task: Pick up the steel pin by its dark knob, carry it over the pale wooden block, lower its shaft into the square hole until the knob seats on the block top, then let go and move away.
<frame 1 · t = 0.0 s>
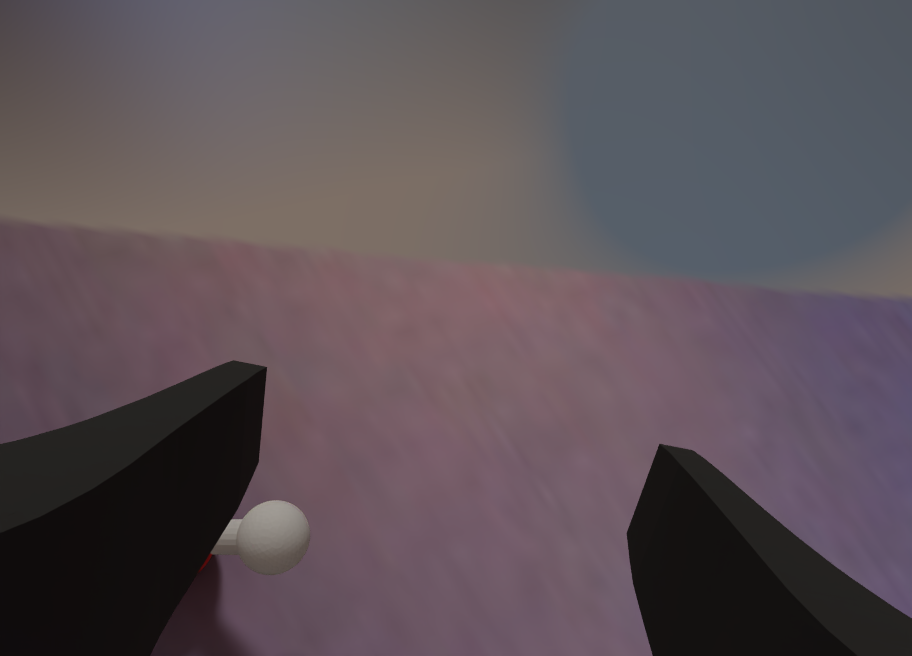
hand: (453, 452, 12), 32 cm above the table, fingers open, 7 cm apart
molecular model: (180, 543, 41), on the table
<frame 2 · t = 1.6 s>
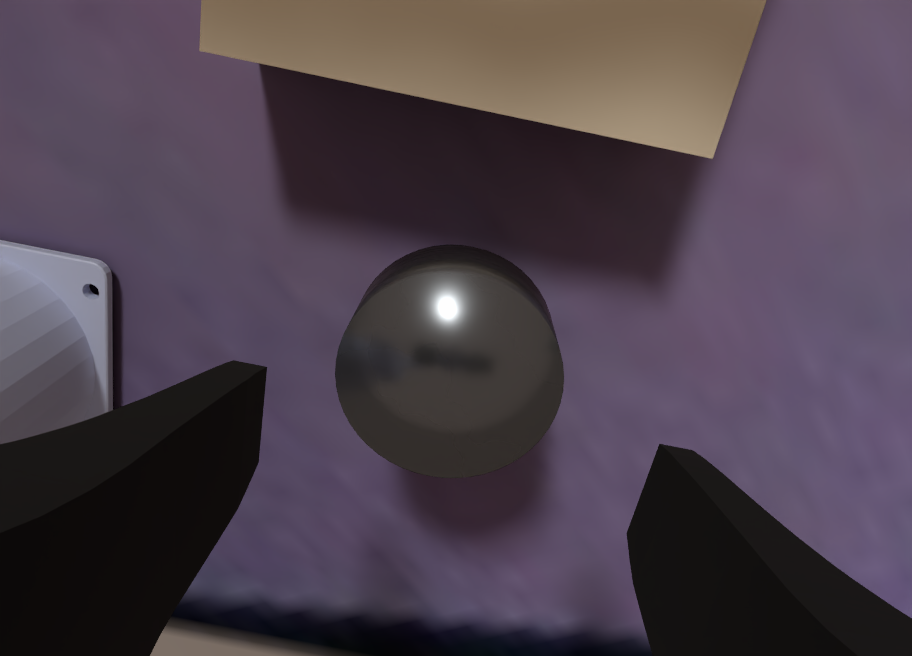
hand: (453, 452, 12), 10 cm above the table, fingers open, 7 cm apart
steel pin: (458, 297, 21), on the table
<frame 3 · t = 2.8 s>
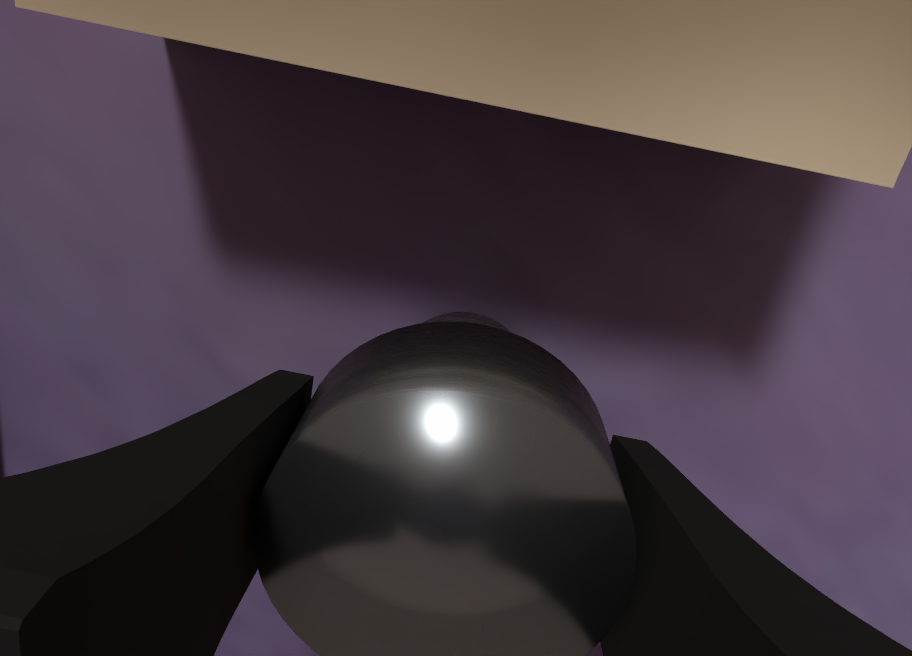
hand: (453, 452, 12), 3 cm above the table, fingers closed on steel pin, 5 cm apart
steel pin: (461, 373, 15), on the table, touching gripper
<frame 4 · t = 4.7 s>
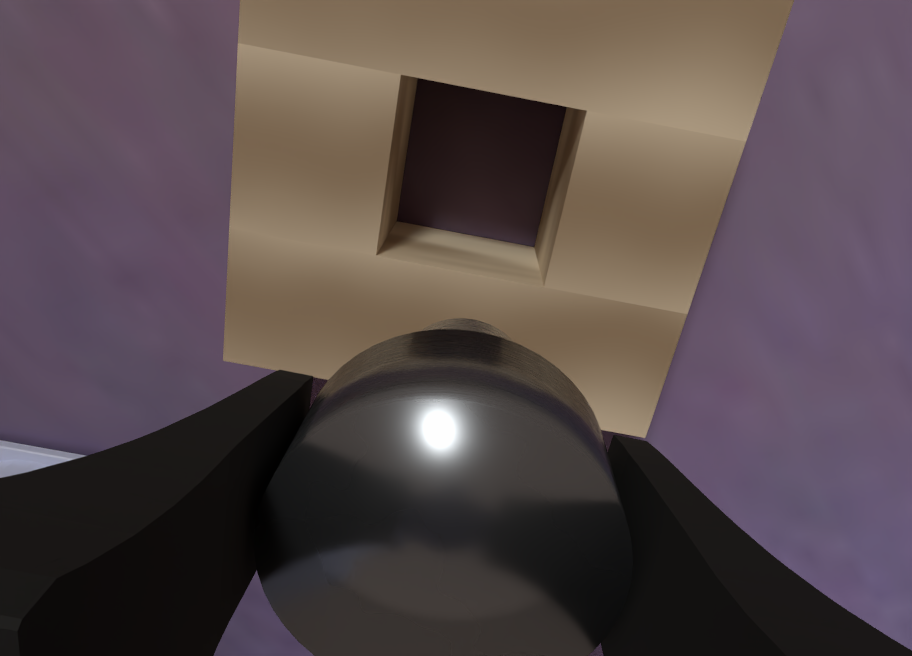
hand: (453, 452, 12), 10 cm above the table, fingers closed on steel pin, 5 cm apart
wooden block: (478, 163, 20), on the table
steel pin: (461, 379, 15), point 7 cm above the table, touching gripper
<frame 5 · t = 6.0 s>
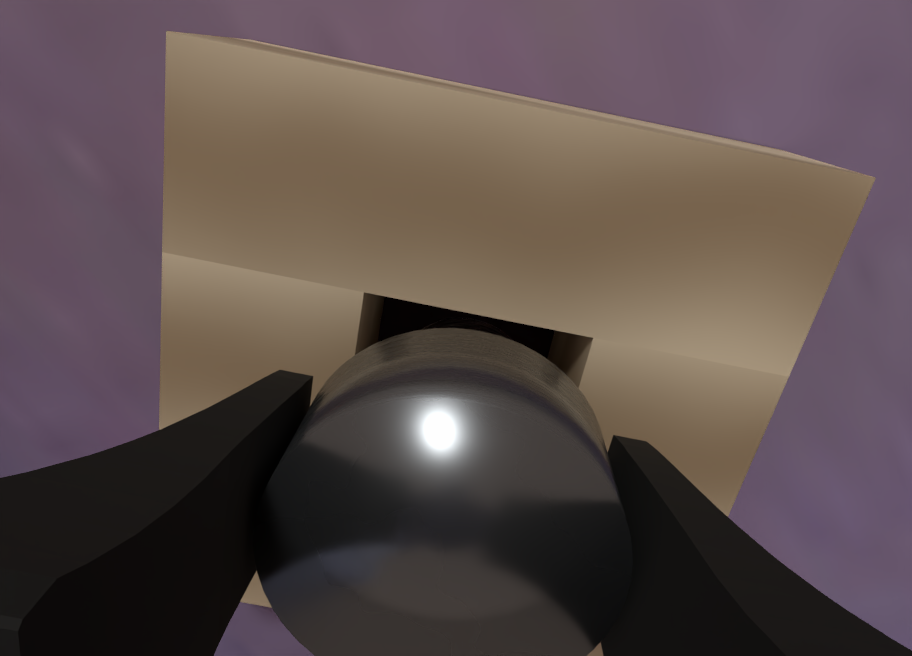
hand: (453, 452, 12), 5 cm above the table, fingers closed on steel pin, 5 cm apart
wooden block: (464, 337, 17), on the table
steel pin: (461, 378, 15), point 2 cm above the table, touching gripper
when the fingers open (5 cm above the table, at t = 6.8 s): steel pin stays where it is, resting on wooden block.
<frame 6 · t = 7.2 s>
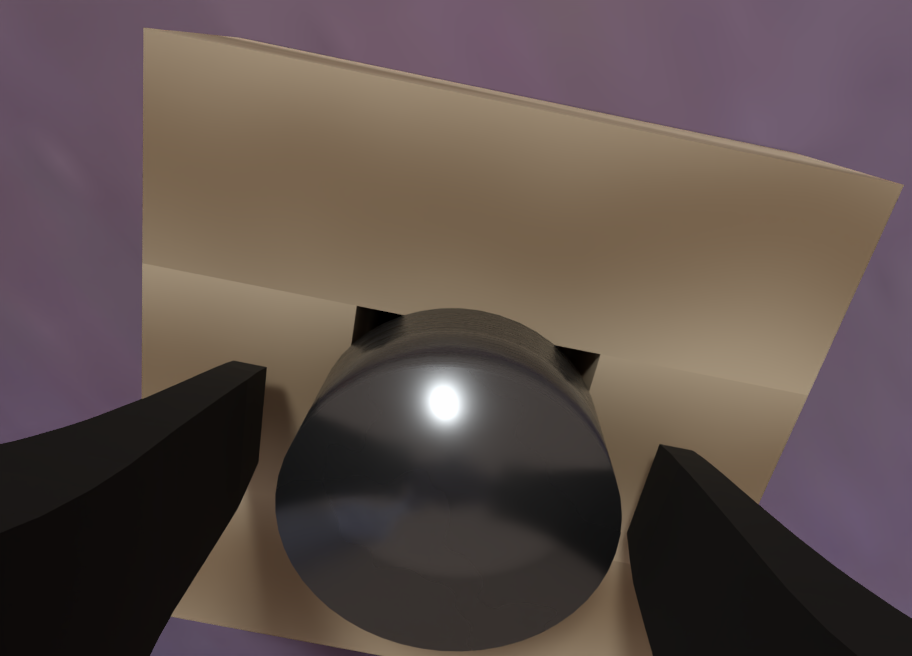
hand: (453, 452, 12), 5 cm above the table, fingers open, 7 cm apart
wooden block: (464, 349, 16), on the table
steel pin: (462, 360, 16), resting on wooden block
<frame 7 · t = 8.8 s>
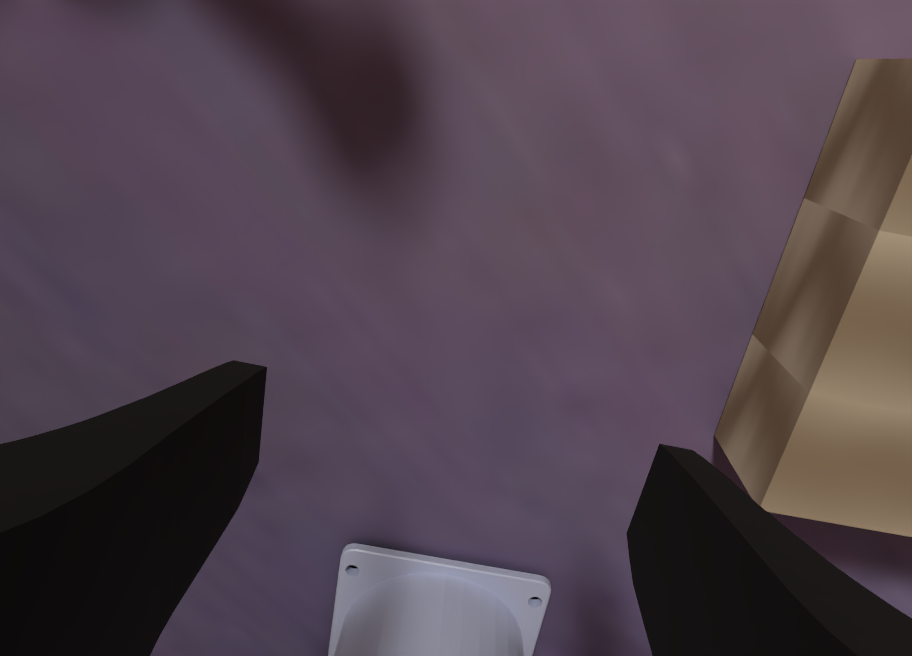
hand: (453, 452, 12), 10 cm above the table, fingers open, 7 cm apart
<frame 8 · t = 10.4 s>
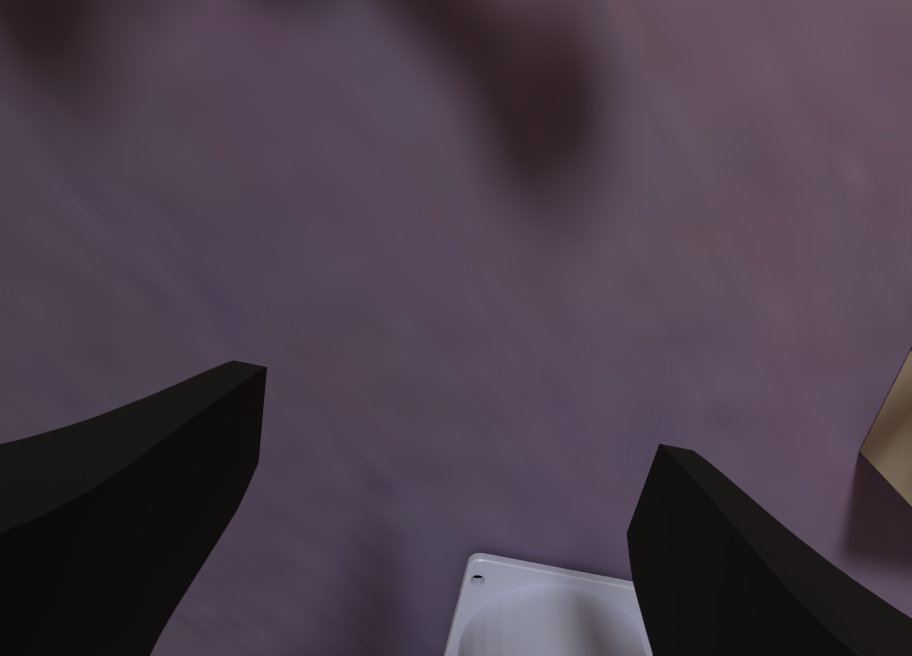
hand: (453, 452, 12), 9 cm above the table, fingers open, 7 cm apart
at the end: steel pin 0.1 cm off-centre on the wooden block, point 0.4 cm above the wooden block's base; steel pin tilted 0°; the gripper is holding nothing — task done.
